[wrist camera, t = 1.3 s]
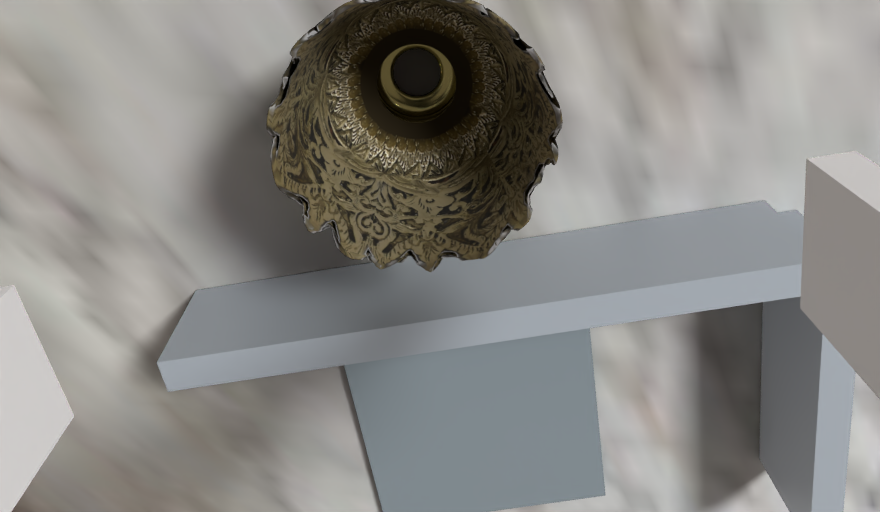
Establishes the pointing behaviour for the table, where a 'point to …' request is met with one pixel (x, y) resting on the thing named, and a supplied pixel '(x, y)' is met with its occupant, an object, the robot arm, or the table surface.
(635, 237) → the fence
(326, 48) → the cup
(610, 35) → the table surface
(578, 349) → the mat
